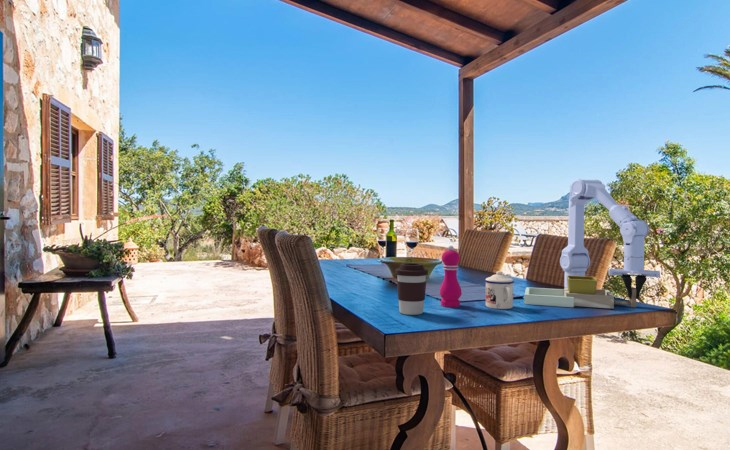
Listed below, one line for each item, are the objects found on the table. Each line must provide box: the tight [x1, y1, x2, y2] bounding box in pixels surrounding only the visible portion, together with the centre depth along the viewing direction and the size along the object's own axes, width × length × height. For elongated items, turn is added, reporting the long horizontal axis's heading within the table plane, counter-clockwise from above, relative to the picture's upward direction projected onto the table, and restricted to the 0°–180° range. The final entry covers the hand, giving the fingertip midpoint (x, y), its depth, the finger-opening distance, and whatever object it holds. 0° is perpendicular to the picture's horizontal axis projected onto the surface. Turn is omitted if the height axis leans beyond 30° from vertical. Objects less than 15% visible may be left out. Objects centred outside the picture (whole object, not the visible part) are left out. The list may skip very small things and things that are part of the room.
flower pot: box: [567, 275, 598, 295], centre depth 154 cm, size 9×9×9 cm
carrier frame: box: [563, 286, 637, 309], centre depth 154 cm, size 14×21×6 cm, turn 69°
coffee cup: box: [394, 262, 429, 316], centre depth 139 cm, size 10×10×15 cm
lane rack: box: [523, 286, 575, 308], centre depth 159 cm, size 17×15×3 cm
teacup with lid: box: [484, 270, 515, 310], centre depth 148 cm, size 12×9×12 cm
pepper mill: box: [439, 245, 462, 308], centre depth 151 cm, size 7×7×20 cm
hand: (633, 298), depth 150 cm, fingers closed
